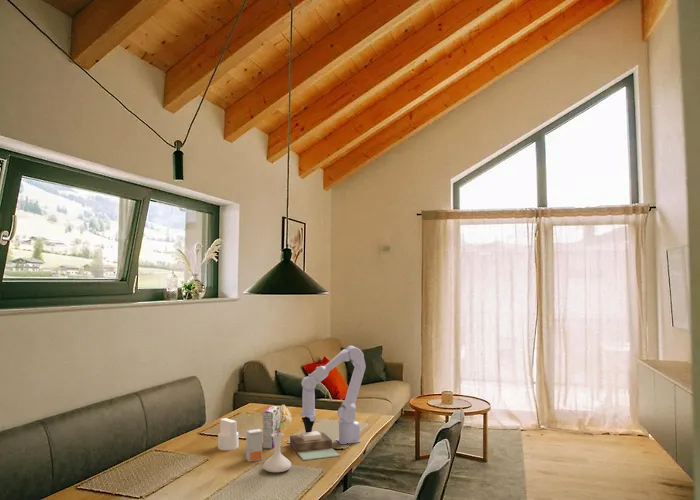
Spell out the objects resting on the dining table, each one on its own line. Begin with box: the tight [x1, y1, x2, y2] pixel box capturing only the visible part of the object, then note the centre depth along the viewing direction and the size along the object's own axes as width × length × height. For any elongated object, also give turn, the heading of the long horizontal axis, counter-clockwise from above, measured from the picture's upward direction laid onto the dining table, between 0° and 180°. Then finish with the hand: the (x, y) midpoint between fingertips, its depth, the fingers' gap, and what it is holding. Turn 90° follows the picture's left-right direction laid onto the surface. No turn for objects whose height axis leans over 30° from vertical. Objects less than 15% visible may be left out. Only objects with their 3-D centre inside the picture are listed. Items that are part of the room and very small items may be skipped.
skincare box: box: [245, 428, 263, 463], centre depth 223 cm, size 6×4×12 cm
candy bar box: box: [262, 405, 281, 450], centre depth 243 cm, size 11×5×16 cm, turn 168°
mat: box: [296, 447, 341, 462], centre depth 229 cm, size 16×10×1 cm, turn 110°
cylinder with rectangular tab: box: [217, 417, 239, 451], centre depth 240 cm, size 9×9×12 cm
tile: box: [300, 430, 321, 441], centre depth 239 cm, size 8×6×2 cm
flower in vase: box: [262, 404, 293, 473], centre depth 212 cm, size 13×11×25 cm
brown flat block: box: [289, 431, 333, 453], centre depth 240 cm, size 16×13×4 cm
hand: (308, 433), depth 243 cm, fingers closed
